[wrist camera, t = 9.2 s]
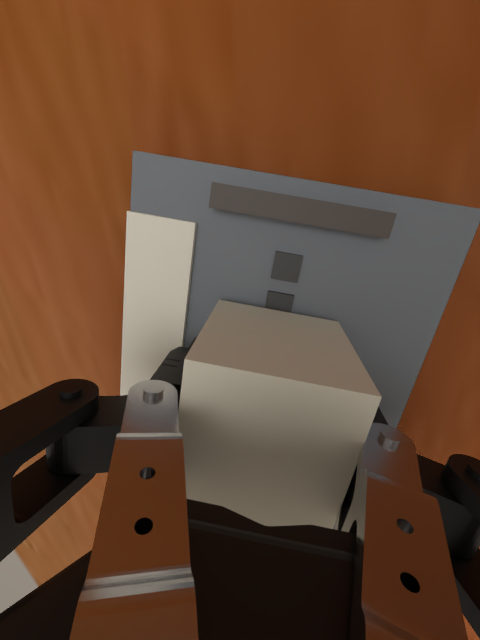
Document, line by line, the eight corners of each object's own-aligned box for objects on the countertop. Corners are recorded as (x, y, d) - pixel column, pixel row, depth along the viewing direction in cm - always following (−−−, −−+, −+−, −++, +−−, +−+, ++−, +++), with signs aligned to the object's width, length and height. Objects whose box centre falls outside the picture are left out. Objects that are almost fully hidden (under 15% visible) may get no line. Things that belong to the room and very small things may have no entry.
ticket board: (459, 209, 12) (501, 209, 10) (309, 605, 20) (314, 653, 18) (148, 156, 12) (122, 146, 10) (125, 565, 21) (108, 607, 18)
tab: (338, 321, 12) (381, 396, 7) (307, 430, 14) (325, 549, 9) (218, 299, 12) (184, 359, 7) (203, 410, 14) (166, 516, 9)
